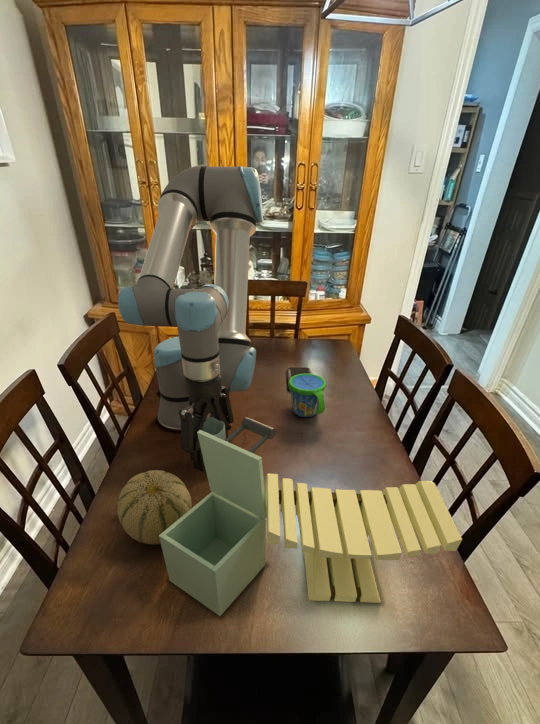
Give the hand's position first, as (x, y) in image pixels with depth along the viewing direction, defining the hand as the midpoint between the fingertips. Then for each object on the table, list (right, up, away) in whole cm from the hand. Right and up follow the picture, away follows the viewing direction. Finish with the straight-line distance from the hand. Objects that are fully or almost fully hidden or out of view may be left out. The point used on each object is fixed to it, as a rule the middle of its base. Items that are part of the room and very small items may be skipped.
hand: (211, 459), depth 99 cm
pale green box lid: (+7, -3, -29) cm, 30 cm away
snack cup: (+25, +15, +26) cm, 39 cm away
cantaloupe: (-9, -15, -11) cm, 21 cm away
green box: (+4, -22, -20) cm, 30 cm away
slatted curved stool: (+27, -21, -19) cm, 39 cm away
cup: (0, 0, 0) cm, 0 cm away
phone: (+25, +27, +41) cm, 55 cm away
